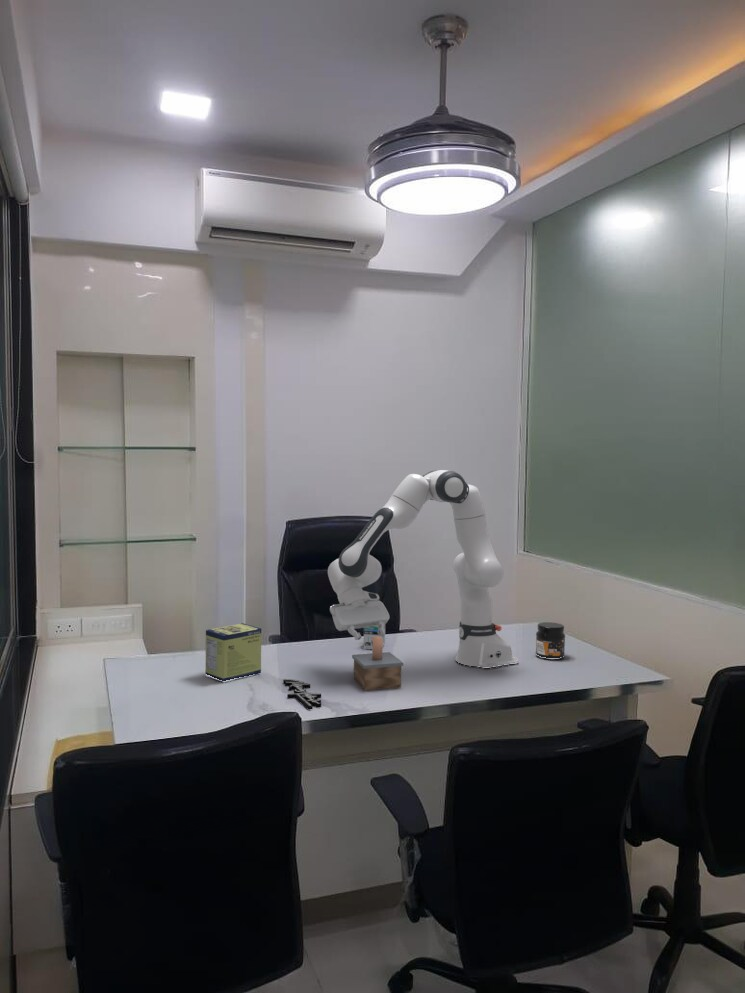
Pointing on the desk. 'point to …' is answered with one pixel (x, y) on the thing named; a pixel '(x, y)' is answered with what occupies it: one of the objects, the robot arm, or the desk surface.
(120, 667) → the desk surface
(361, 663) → the lid
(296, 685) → the nameplate
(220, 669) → the protein box
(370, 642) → the light bulb box
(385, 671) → the box
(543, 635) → the supplement container
